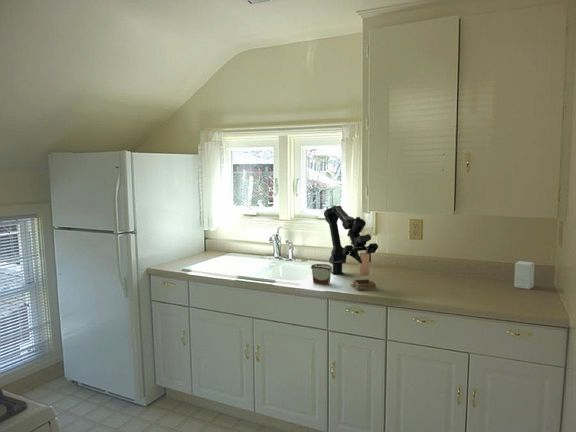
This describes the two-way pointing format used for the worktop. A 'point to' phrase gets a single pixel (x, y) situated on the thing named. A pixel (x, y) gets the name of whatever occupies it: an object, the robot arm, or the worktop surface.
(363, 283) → the walnut holder
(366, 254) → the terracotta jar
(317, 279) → the food container
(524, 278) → the supplement box
